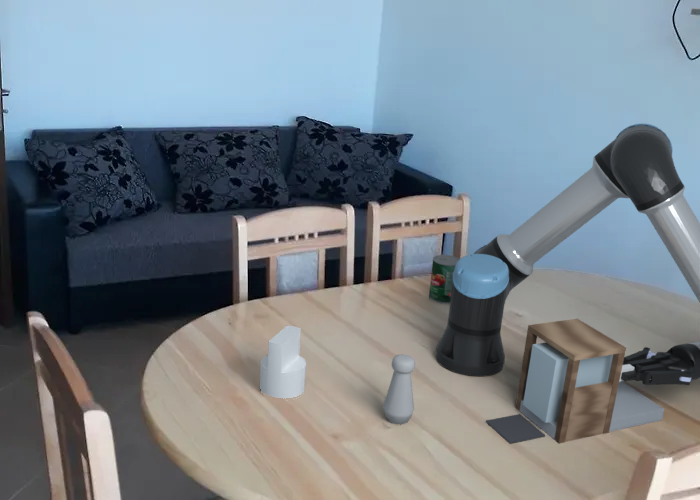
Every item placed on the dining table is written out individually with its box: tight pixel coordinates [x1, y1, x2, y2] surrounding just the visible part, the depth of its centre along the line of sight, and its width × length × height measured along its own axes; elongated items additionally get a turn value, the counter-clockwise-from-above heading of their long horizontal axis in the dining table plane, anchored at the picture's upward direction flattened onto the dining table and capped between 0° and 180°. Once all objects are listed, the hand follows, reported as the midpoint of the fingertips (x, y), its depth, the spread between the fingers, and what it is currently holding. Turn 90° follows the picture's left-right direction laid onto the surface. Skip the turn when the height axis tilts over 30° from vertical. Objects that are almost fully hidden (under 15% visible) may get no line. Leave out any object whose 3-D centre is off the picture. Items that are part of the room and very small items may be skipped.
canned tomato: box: [428, 254, 461, 305], centre depth 207 cm, size 8×8×11 cm
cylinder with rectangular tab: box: [259, 325, 307, 399], centre depth 154 cm, size 9×9×12 cm
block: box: [523, 342, 613, 423], centre depth 149 cm, size 14×7×13 cm, turn 115°
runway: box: [519, 381, 665, 440], centre depth 155 cm, size 26×13×2 cm, turn 115°
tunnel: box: [514, 318, 627, 444], centre depth 149 cm, size 12×14×18 cm
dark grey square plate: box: [485, 413, 546, 445], centre depth 147 cm, size 8×8×1 cm
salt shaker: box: [382, 354, 416, 426], centre depth 146 cm, size 6×6×13 cm
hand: (605, 376), depth 153 cm, fingers closed
